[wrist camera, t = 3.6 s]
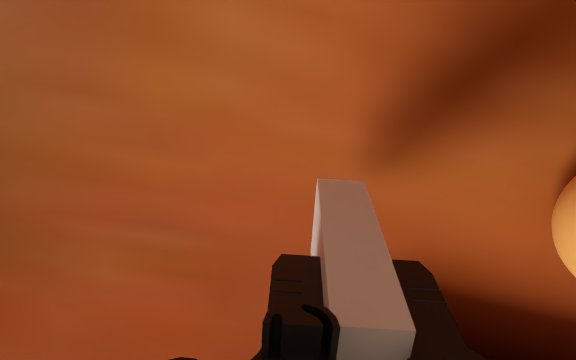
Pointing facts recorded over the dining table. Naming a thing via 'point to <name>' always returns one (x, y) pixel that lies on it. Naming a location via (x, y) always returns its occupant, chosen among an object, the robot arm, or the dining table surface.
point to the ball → (566, 225)
